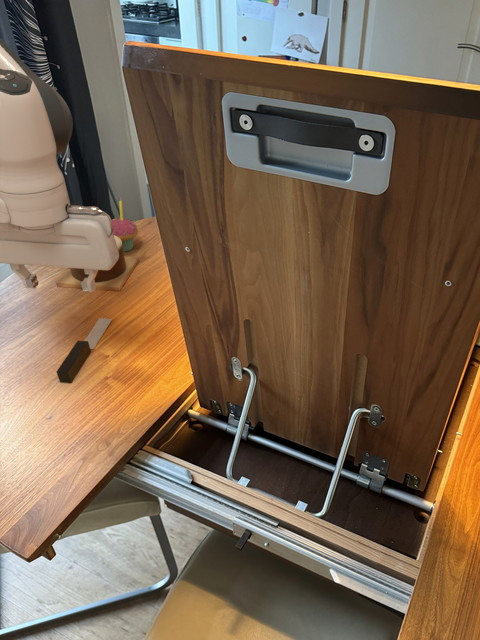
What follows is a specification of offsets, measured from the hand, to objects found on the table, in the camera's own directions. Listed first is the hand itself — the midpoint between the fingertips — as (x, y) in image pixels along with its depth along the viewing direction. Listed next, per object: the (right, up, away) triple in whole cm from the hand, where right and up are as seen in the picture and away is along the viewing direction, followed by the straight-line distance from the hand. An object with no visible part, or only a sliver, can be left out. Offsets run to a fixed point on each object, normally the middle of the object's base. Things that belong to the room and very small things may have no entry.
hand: (61, 288), depth 82 cm
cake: (-6, +9, +36) cm, 38 cm away
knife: (-1, -9, +14) cm, 17 cm away
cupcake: (-4, +17, +46) cm, 49 cm away
